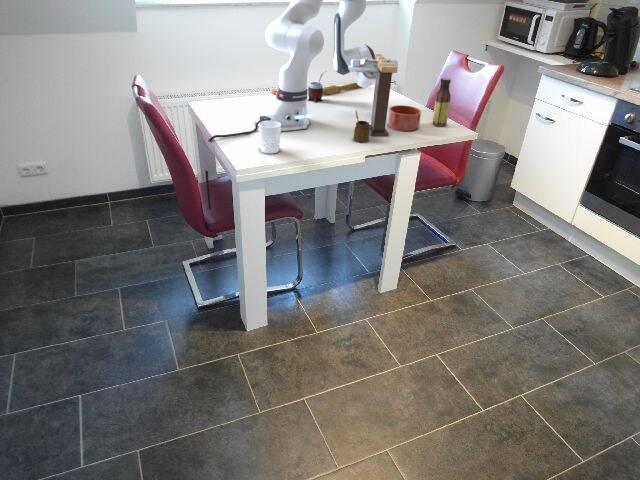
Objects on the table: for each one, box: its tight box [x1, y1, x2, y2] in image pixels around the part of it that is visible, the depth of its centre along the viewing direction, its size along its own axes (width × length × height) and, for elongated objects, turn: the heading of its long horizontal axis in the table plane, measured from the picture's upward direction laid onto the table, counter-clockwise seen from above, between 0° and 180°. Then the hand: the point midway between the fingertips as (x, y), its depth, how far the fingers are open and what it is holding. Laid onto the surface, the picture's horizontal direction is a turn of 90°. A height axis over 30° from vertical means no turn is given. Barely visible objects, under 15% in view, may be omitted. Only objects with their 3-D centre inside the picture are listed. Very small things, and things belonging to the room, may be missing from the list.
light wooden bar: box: [375, 53, 399, 74], centre depth 190 cm, size 22×6×2 cm, turn 6°
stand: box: [369, 64, 393, 137], centre depth 195 cm, size 10×7×26 cm
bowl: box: [387, 104, 422, 132], centre depth 208 cm, size 13×13×7 cm
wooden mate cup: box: [353, 109, 372, 143], centre depth 190 cm, size 6×6×12 cm
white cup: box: [258, 120, 282, 154], centre depth 177 cm, size 8×8×10 cm
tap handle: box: [322, 81, 361, 96], centre depth 249 cm, size 3×3×30 cm
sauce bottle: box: [432, 77, 452, 127], centre depth 208 cm, size 6×6×20 cm
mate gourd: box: [307, 70, 327, 103], centre depth 230 cm, size 8×8×15 cm
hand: (377, 60), depth 200 cm, fingers open, 8 cm apart
